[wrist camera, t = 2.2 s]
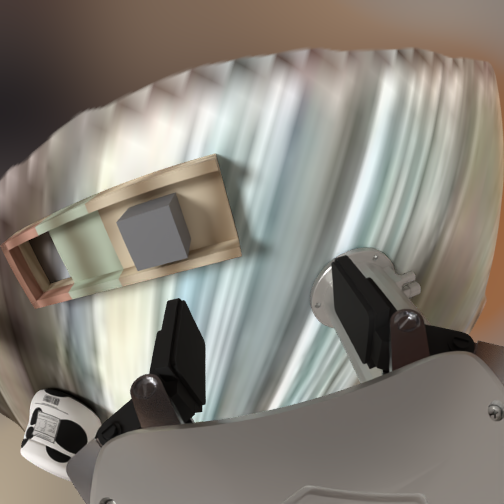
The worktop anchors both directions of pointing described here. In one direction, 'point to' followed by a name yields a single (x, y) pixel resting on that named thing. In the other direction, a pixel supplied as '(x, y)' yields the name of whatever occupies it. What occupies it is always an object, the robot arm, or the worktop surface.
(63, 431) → the milk container
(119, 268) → the lane
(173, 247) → the block
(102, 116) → the worktop surface
